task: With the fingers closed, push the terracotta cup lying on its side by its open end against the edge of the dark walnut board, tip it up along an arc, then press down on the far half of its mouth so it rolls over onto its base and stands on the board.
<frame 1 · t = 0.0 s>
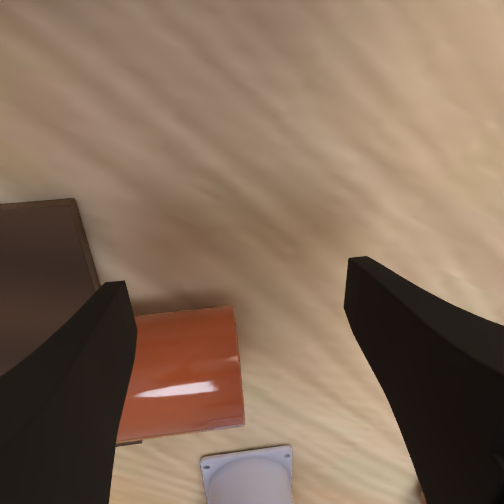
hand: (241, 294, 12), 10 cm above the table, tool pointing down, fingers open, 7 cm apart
cup: (111, 378, 23), point 3 cm above the table
board: (6, 350, 25), on the table
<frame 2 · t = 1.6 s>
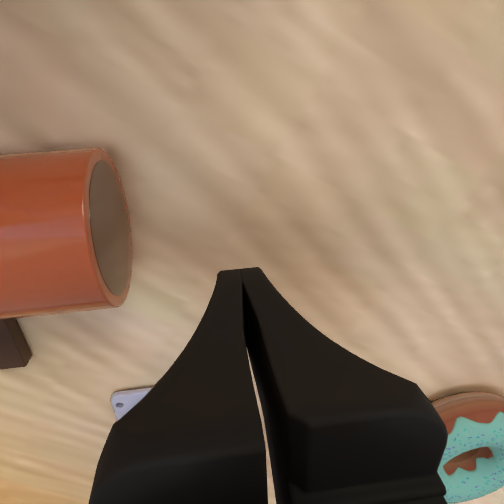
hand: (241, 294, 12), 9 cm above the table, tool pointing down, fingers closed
donut: (445, 426, 34), on the table
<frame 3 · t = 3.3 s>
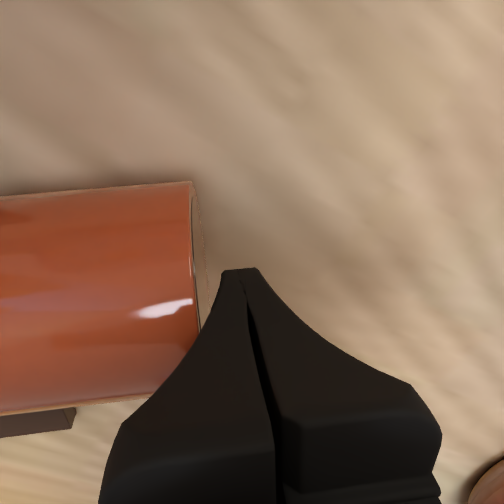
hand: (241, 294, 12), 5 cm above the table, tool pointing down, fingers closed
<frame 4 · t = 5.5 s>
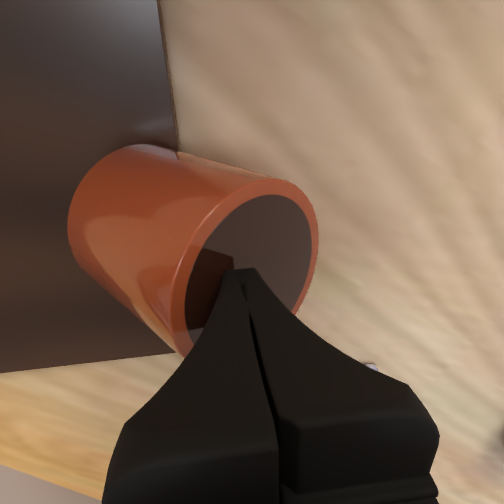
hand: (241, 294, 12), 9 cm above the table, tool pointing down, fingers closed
cup: (144, 220, 18), point 2 cm above the table, tilted 53°, touching board, gripper
board: (49, 207, 20), on the table
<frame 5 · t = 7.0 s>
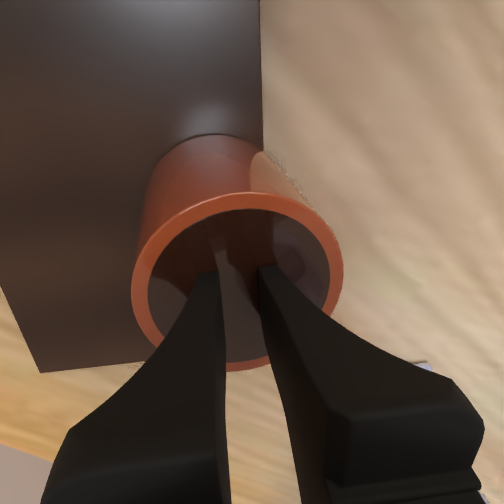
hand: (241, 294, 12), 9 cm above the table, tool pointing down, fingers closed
cup: (217, 207, 19), point 1 cm above the table, tilted 86°, touching board, gripper
board: (126, 204, 20), on the table
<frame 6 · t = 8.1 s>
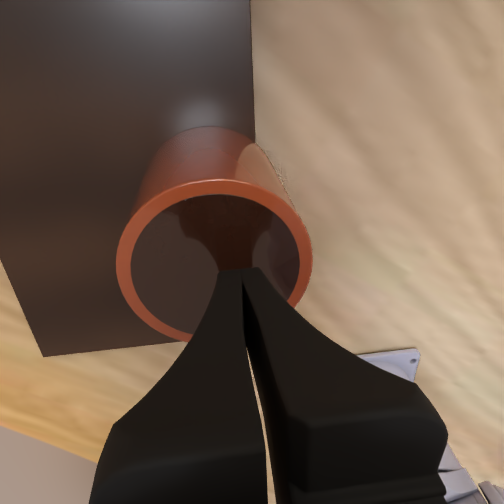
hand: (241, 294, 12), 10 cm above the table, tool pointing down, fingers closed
cup: (211, 194, 20), point 1 cm above the table, tilted 90°, touching board
board: (125, 193, 21), on the table
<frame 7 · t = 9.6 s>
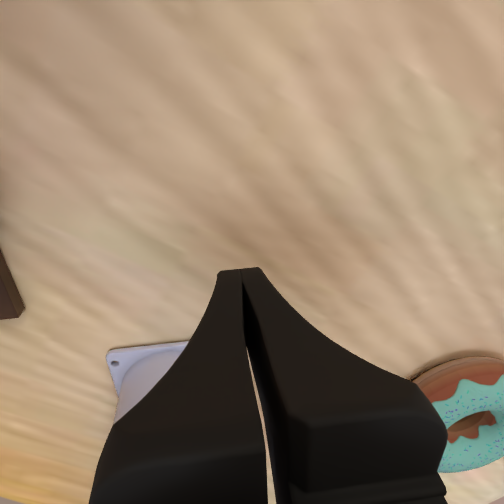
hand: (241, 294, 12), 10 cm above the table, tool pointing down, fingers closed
donut: (447, 394, 34), on the table
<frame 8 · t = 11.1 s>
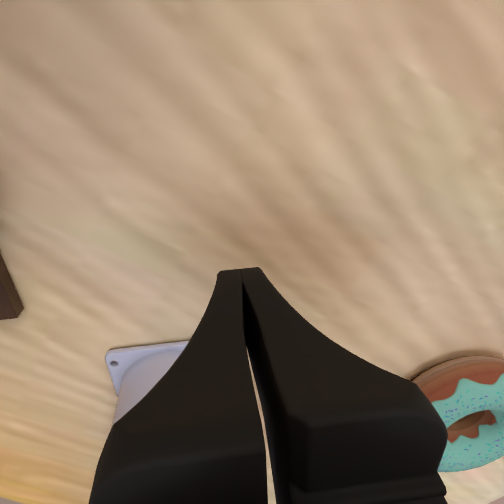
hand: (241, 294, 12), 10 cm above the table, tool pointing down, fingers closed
donut: (447, 394, 34), on the table
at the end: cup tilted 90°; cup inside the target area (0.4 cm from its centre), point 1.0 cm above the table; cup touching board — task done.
